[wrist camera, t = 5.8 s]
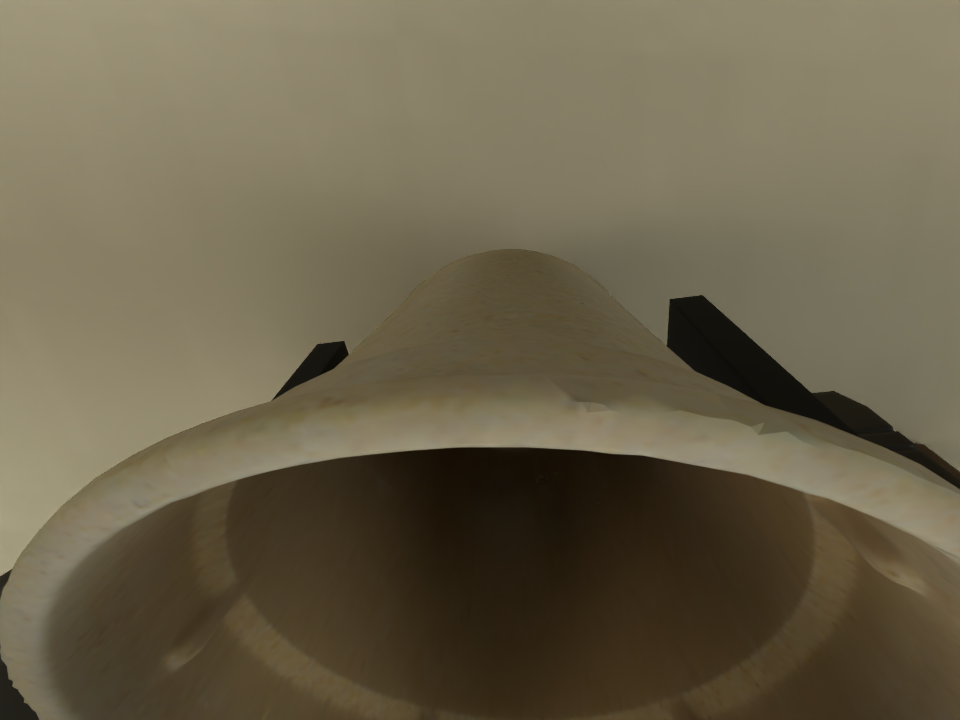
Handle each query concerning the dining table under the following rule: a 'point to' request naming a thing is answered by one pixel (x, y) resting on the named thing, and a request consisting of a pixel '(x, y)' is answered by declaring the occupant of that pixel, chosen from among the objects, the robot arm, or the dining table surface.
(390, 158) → the dining table surface
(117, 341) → the dining table surface
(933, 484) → the flower pot
